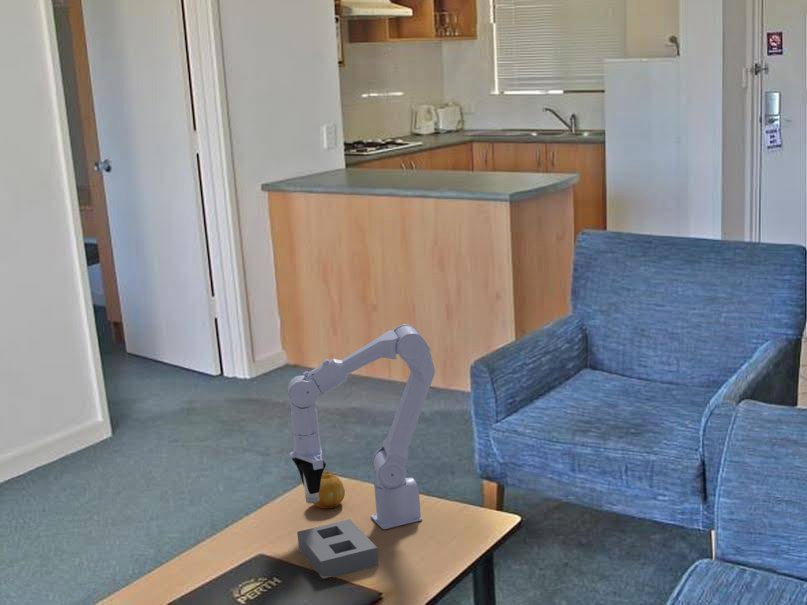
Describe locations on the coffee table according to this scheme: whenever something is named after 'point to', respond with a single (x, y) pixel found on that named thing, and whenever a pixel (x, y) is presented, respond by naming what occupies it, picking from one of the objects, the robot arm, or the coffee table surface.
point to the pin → (310, 497)
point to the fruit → (330, 491)
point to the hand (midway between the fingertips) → (311, 490)
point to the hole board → (337, 548)
